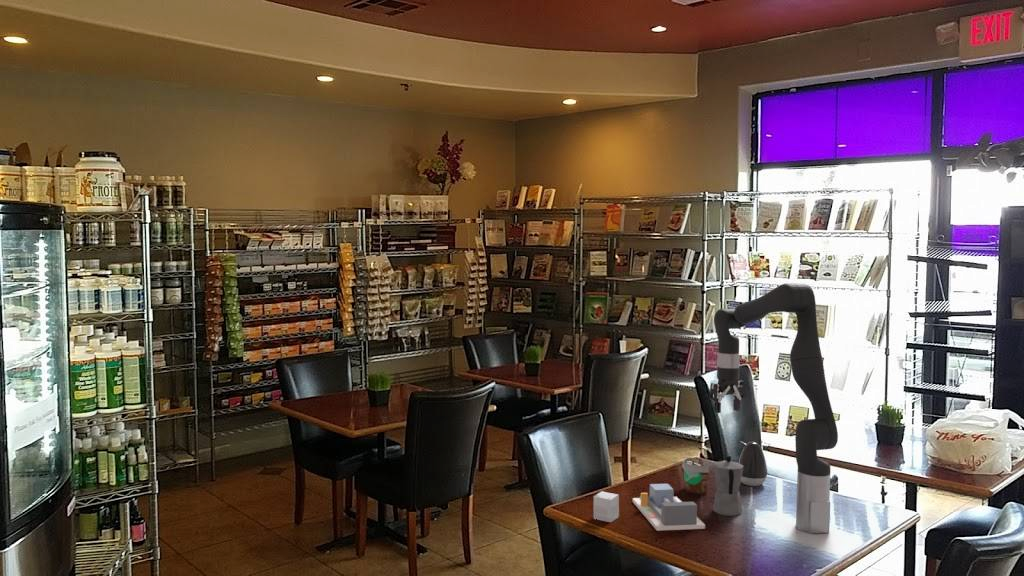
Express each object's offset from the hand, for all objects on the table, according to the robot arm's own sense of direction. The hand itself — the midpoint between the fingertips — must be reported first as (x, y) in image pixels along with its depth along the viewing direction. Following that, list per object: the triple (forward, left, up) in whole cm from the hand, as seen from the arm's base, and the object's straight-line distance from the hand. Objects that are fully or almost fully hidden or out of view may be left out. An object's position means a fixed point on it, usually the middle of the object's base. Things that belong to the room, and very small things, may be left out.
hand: (727, 411), depth 277 cm
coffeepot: (-25, +10, -27) cm, 38 cm away
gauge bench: (-25, +30, -27) cm, 47 cm away
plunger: (-22, +32, -25) cm, 46 cm away
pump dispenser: (+2, -10, -27) cm, 29 cm away
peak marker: (-21, +36, -25) cm, 48 cm away
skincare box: (-26, +50, -27) cm, 62 cm away
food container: (-3, +14, -27) cm, 30 cm away
